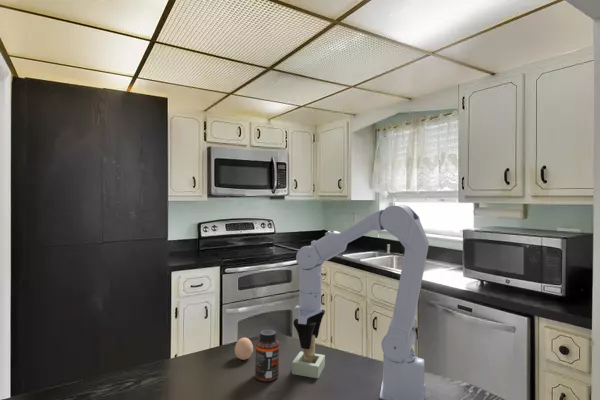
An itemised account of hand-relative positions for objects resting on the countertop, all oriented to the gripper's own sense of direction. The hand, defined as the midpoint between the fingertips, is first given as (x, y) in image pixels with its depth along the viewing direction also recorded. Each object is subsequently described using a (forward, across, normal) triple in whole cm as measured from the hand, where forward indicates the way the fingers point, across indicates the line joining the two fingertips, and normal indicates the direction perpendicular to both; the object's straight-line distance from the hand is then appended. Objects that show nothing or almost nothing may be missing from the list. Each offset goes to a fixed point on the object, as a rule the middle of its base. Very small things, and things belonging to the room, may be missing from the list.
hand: (309, 342), depth 94 cm
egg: (+7, 0, -19) cm, 20 cm away
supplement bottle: (+7, +7, -9) cm, 14 cm away
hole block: (+7, 0, 0) cm, 7 cm away
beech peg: (+7, 0, 0) cm, 7 cm away
